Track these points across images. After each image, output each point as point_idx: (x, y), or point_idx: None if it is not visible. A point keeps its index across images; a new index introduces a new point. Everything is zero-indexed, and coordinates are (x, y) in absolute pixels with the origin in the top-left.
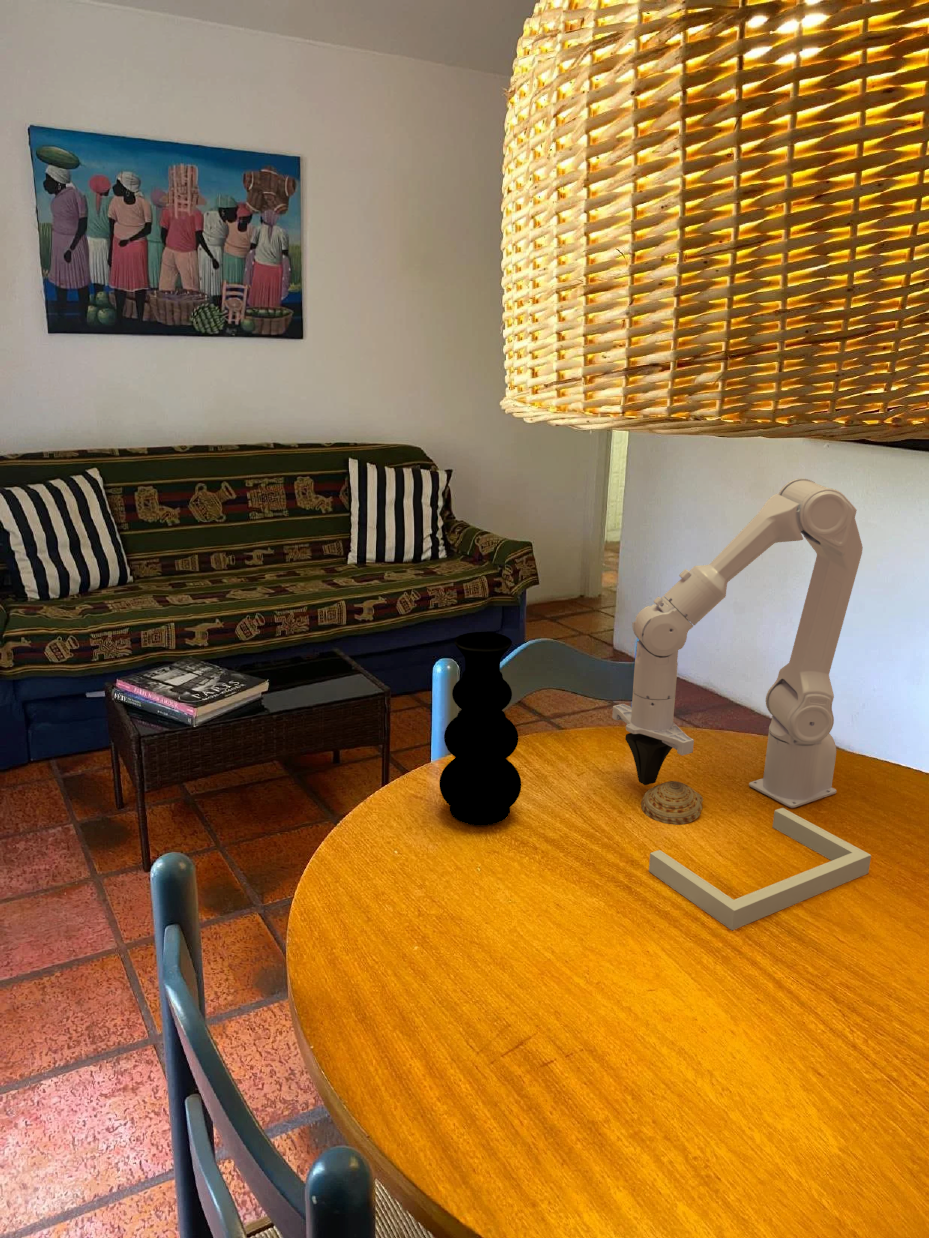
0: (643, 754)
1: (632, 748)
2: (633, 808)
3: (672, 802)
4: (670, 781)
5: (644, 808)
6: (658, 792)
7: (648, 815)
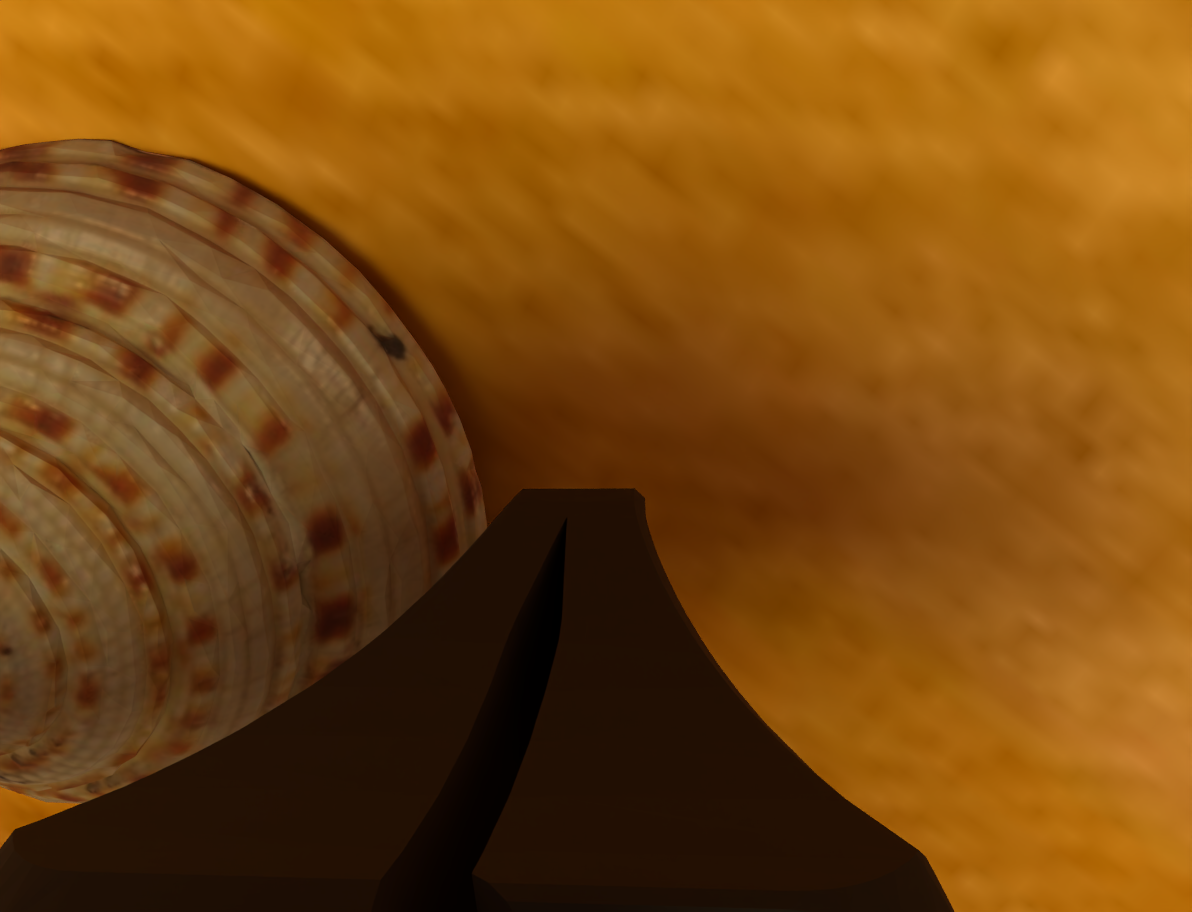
0: (310, 757)
1: (687, 760)
2: (313, 105)
3: None
4: (107, 689)
5: (177, 186)
6: (40, 425)
7: (71, 147)
